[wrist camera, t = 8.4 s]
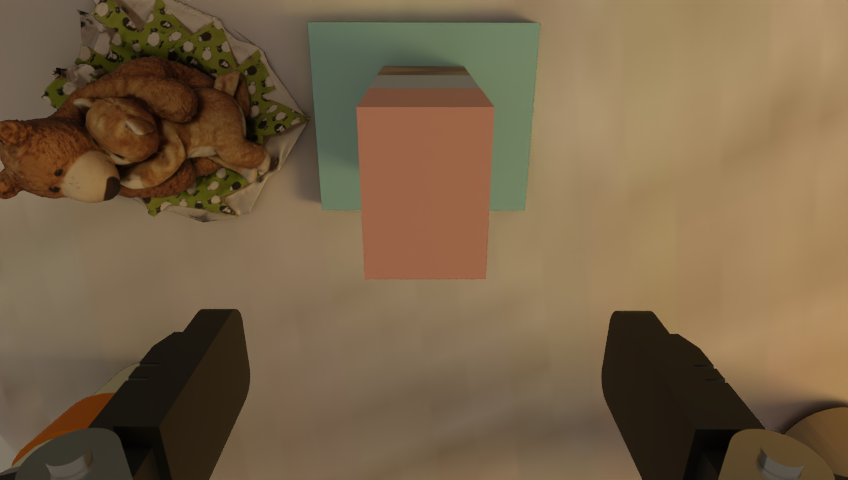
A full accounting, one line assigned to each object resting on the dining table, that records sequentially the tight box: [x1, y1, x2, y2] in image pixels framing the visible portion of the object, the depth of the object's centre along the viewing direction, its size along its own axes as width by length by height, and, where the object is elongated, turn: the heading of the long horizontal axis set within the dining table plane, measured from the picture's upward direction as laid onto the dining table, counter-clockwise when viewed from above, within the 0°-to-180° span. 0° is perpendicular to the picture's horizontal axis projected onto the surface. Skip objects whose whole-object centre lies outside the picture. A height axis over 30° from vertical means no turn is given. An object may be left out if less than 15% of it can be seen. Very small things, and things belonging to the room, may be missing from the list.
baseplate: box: [307, 22, 540, 211], centre depth 35 cm, size 14×12×1 cm
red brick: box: [356, 88, 495, 279], centre depth 23 cm, size 5×7×5 cm
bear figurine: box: [0, 0, 311, 222], centre depth 30 cm, size 14×15×12 cm
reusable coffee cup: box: [0, 363, 140, 475], centre depth 38 cm, size 13×13×15 cm
